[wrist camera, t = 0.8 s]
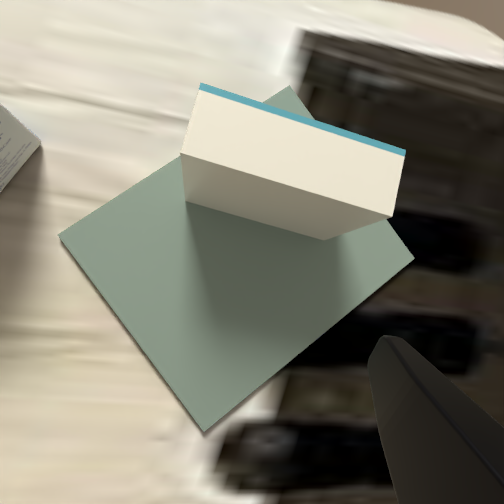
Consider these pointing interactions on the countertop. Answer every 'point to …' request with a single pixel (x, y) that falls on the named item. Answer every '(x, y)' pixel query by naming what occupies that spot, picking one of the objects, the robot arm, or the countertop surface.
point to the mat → (223, 283)
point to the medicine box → (14, 145)
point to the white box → (285, 167)
